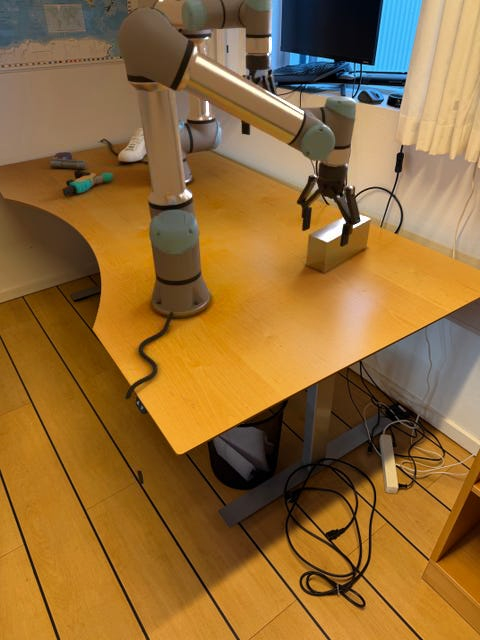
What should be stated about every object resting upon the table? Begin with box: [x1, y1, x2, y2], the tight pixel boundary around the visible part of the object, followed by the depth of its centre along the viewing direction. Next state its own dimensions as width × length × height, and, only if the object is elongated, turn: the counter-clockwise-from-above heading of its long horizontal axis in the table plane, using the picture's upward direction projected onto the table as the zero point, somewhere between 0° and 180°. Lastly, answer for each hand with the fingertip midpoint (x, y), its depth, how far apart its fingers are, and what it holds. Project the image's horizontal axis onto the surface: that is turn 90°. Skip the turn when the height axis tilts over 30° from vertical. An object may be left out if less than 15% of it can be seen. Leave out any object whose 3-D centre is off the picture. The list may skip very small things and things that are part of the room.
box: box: [305, 214, 372, 274], centre depth 142 cm, size 22×7×10 cm, turn 135°
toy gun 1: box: [48, 151, 87, 170], centre depth 217 cm, size 4×19×15 cm
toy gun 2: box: [62, 169, 114, 197], centre depth 193 cm, size 4×26×15 cm
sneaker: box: [117, 127, 147, 163], centre depth 223 cm, size 10×29×12 cm, turn 163°
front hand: (324, 237), depth 136 cm, fingers open, 13 cm apart
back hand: (257, 129), depth 152 cm, fingers open, 13 cm apart
